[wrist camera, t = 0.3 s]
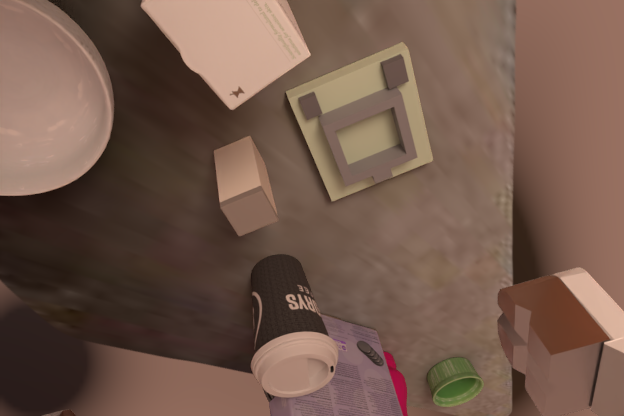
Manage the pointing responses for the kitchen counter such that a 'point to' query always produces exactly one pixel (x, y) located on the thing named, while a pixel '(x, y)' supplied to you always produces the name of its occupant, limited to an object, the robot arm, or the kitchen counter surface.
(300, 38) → the skincare box
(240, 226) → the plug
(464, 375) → the ramekin
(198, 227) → the kitchen counter surface
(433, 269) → the kitchen counter surface
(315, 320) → the coffee cup
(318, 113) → the board
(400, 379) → the pepper mill
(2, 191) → the cereal bowl
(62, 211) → the kitchen counter surface
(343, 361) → the cake pan box
